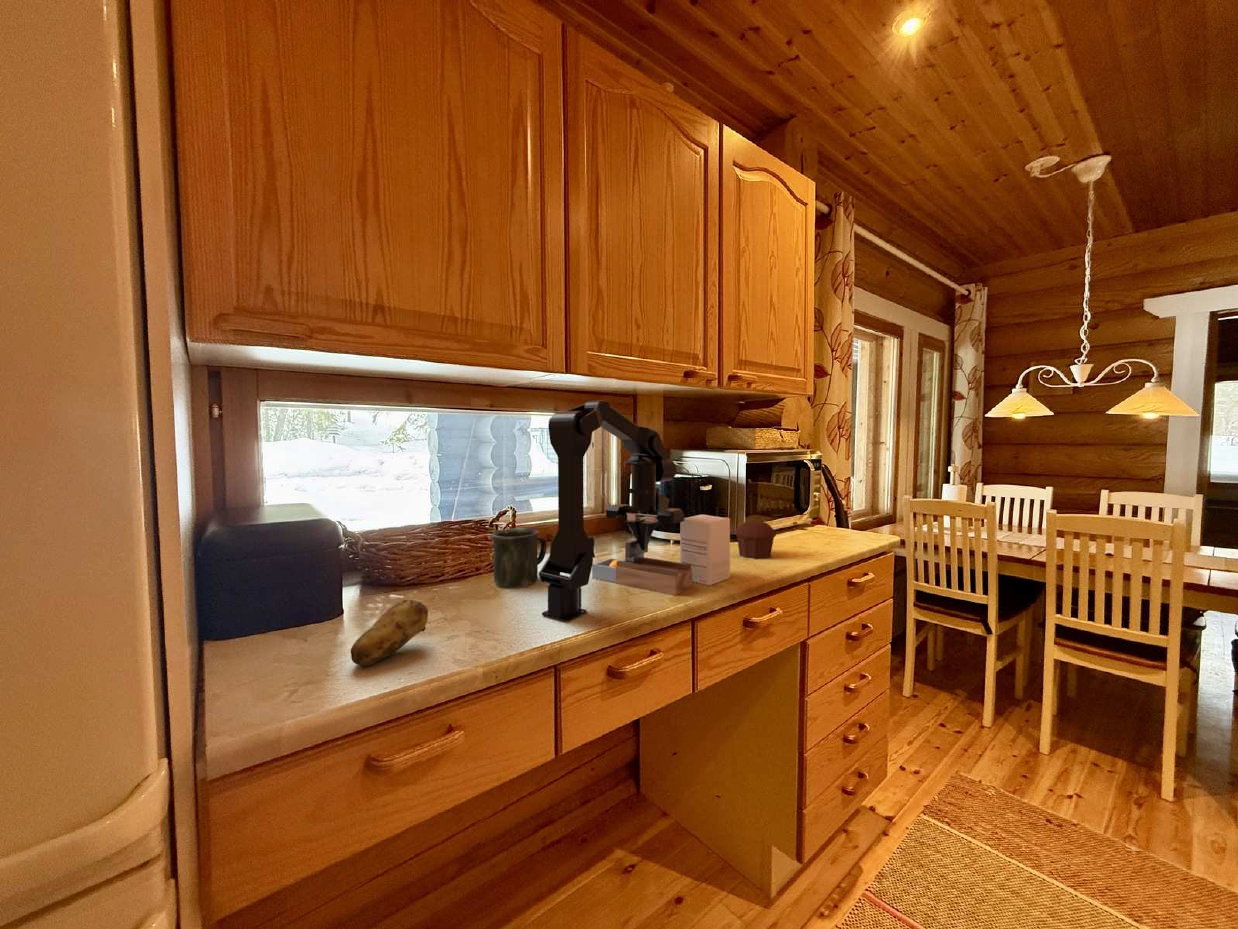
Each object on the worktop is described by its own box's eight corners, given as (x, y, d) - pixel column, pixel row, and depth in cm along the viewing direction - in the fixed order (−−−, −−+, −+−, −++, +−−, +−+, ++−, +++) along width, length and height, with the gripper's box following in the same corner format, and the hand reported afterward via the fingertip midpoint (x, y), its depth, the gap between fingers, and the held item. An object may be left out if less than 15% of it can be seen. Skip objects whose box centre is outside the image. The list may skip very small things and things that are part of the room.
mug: (482, 582, 125) (482, 532, 124) (531, 570, 135) (531, 524, 135) (510, 592, 117) (509, 539, 117) (559, 578, 128) (559, 530, 127)
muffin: (726, 554, 153) (727, 520, 152) (749, 549, 160) (750, 516, 159) (761, 562, 144) (761, 526, 143) (783, 556, 151) (784, 521, 150)
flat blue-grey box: (618, 583, 124) (618, 569, 123) (592, 578, 128) (592, 564, 128) (635, 576, 130) (635, 562, 130) (610, 571, 134) (610, 558, 134)
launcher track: (675, 595, 115) (675, 572, 114) (615, 583, 124) (615, 561, 124) (691, 586, 121) (692, 564, 121) (634, 575, 130) (634, 555, 130)
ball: (620, 576, 125) (616, 560, 126) (608, 579, 128) (603, 563, 128) (630, 573, 129) (625, 557, 129) (617, 575, 131) (613, 560, 131)
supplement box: (700, 571, 134) (700, 513, 133) (730, 578, 128) (731, 517, 127) (678, 578, 128) (679, 518, 127) (709, 586, 122) (710, 522, 121)
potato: (338, 659, 83) (337, 609, 82) (418, 636, 92) (417, 591, 91) (357, 676, 77) (355, 623, 76) (440, 650, 86) (439, 602, 86)
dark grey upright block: (629, 568, 121) (629, 542, 121) (620, 566, 123) (620, 541, 122) (647, 561, 128) (647, 537, 128) (639, 560, 129) (639, 536, 129)
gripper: (695, 483, 124) (695, 548, 125) (629, 479, 135) (630, 540, 135) (672, 487, 115) (672, 557, 116) (603, 483, 126) (604, 547, 126)
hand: (644, 549), depth 124 cm, fingers closed
